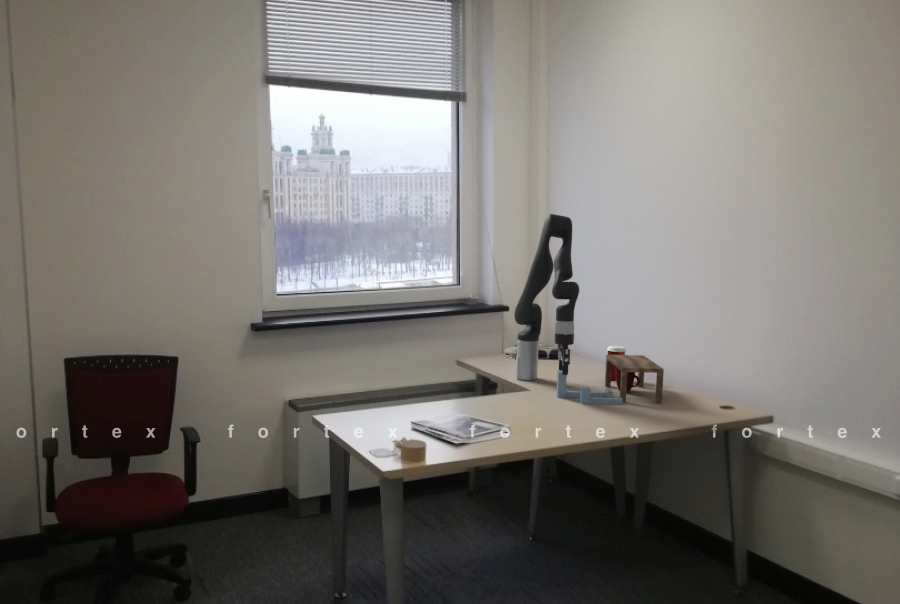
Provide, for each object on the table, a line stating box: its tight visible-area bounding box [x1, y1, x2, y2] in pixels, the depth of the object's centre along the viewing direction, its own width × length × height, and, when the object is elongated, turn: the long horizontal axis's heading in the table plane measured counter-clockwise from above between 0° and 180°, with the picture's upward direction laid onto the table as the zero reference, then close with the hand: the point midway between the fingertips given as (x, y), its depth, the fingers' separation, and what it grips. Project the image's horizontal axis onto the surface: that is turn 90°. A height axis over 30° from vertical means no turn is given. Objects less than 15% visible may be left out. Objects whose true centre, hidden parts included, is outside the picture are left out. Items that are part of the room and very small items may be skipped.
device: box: [503, 342, 558, 360], centre depth 405 cm, size 33×27×5 cm
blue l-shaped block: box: [579, 386, 624, 405], centre depth 302 cm, size 16×3×6 cm, turn 91°
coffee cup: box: [606, 345, 627, 382], centre depth 345 cm, size 8×8×15 cm
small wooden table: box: [604, 354, 665, 404], centre depth 318 cm, size 16×30×14 cm, turn 1°
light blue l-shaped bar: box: [556, 370, 614, 398], centre depth 311 cm, size 22×5×10 cm, turn 91°
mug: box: [615, 367, 640, 394], centre depth 322 cm, size 10×8×10 cm
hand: (563, 372), depth 311 cm, fingers open, 8 cm apart
